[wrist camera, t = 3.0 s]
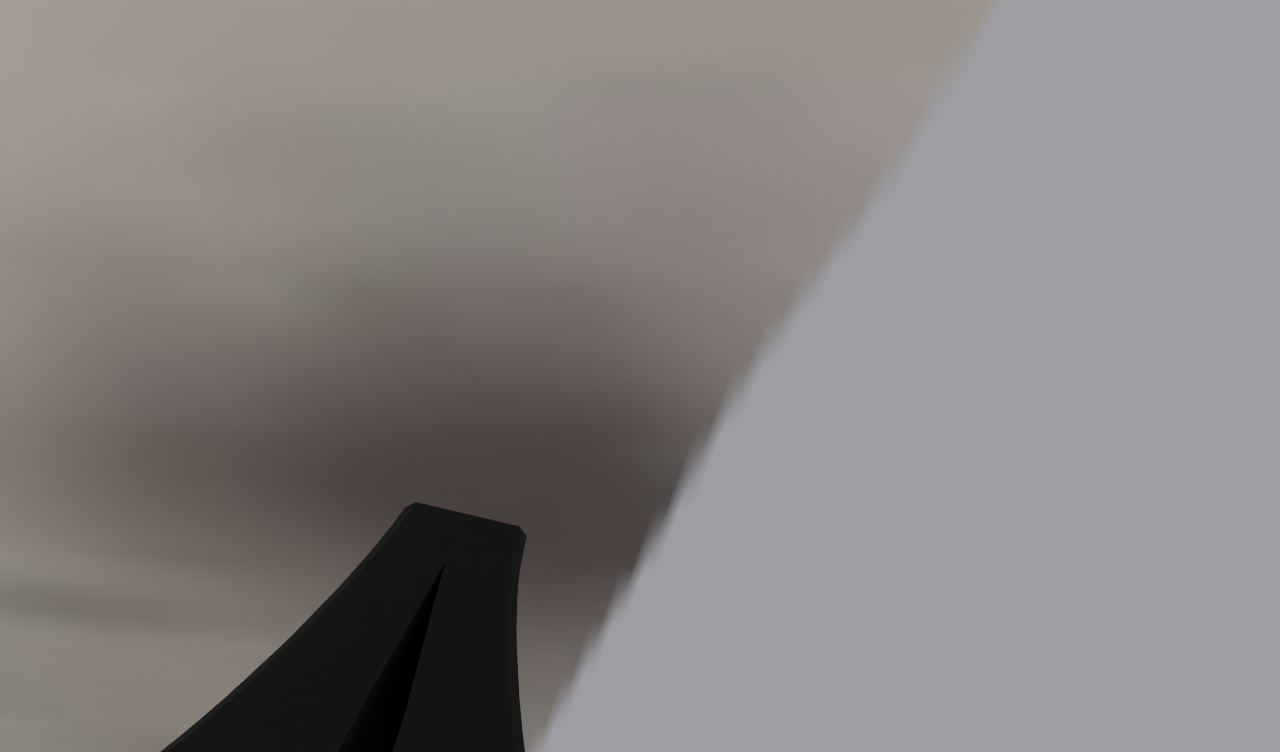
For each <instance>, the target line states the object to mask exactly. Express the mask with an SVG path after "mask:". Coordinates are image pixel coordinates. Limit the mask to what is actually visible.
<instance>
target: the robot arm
mask: <svg viewBox="0 0 1280 752" xmlns="http://www.w3.org/2000/svg"><path fill="white" fill-rule="evenodd" d="M526 537H527V536H526V534H525V533H524V532H523V531H522V529H521V528H520V527H519V526H515V525H511V524H507V523H502V522H498V521H494V520H490V519H485V518H481V517H477V516H472V515H468V514H464V513H460V512H455V511H451V510H447V509H442V508H438V507H434V506H430V505H425V504H421V503H417V502H415V503H413V504H411V505H409V506H407V507H405V508H404V510H403V511H402V513H401V514H400V515H399V517H398V518H397V519H396V521H395V522H394V523H393V525H392V526H391V527H390V528H389V530H388V531H387V532H386V533H385V535H384V536H383V537H382V538H381V540H380V541H379V542H378V543H377V545H376V546H375V547H374V548H373V549H372V551H371V552H370V553H369V554H368V555H367V556H366V558H365V559H364V560H363V561H362V562H361V563H360V564H359V565H358V567H357V568H356V569H355V570H354V571H353V572H352V573H351V574H350V575H349V577H348V578H347V579H346V580H345V581H344V582H343V583H342V584H341V586H340V587H339V588H338V589H337V590H336V591H335V592H334V593H333V594H332V595H331V596H330V597H329V598H328V599H327V600H326V601H325V602H324V603H323V604H322V605H321V606H320V607H319V608H318V609H317V610H316V611H315V612H314V614H313V615H312V616H311V617H310V618H309V619H308V620H307V621H306V622H305V623H304V624H303V625H302V626H301V627H300V628H299V629H298V630H297V631H296V632H295V633H294V634H293V635H292V636H291V637H290V638H289V639H288V640H287V641H286V642H285V643H284V644H283V645H282V646H281V647H280V648H279V649H277V650H276V651H275V652H274V653H273V654H272V655H271V656H270V657H269V658H268V659H267V660H266V661H265V662H263V663H262V664H261V665H260V666H259V667H258V668H257V669H256V670H255V671H254V672H253V673H252V674H250V675H249V676H248V677H247V678H246V679H245V680H244V681H243V682H242V683H241V684H240V685H239V686H237V687H236V688H235V689H234V690H233V691H232V692H231V693H230V694H229V695H228V696H227V697H225V698H224V699H223V700H222V701H221V702H220V703H219V704H217V705H216V706H215V707H214V708H213V709H212V710H210V711H209V712H208V713H207V714H206V715H205V716H203V717H202V718H201V719H200V720H199V721H198V722H196V723H195V724H194V725H193V726H192V727H190V728H189V729H188V730H187V731H186V732H184V733H183V734H182V735H181V736H180V737H178V738H177V739H176V740H175V741H173V742H172V743H171V744H170V745H168V746H167V747H166V748H165V749H163V750H162V751H161V752H525V749H524V740H523V732H522V722H521V711H520V700H519V682H518V664H517V634H516V623H517V593H518V579H519V571H520V566H521V561H522V556H523V551H524V547H525V542H526Z"/></svg>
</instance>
